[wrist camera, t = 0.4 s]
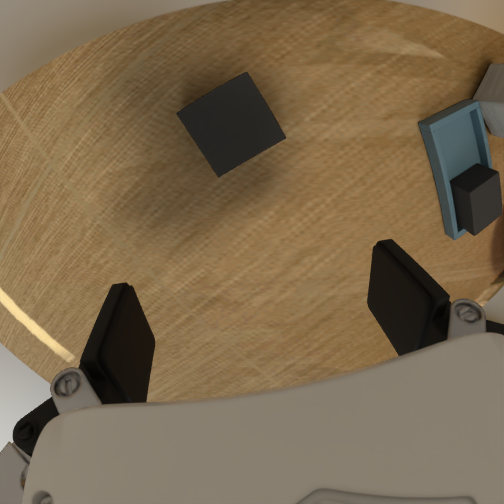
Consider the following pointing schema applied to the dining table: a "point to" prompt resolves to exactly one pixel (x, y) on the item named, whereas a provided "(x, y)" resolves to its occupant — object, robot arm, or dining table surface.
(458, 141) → the tray
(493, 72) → the cosmetic box
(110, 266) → the dining table surface
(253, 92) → the loose pad
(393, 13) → the dining table surface
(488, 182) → the seated pad
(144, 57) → the dining table surface
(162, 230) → the dining table surface
